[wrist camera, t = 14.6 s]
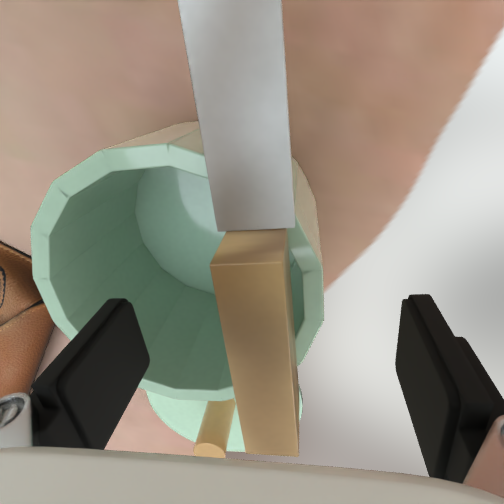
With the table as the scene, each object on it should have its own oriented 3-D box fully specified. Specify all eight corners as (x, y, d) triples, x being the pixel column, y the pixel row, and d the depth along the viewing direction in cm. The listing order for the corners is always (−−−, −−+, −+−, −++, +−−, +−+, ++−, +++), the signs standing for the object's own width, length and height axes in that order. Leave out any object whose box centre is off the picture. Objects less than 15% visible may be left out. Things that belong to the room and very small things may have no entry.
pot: (312, 107, 18) (320, 127, 10) (317, 298, 24) (325, 406, 16) (104, 130, 20) (-22, 161, 12) (153, 300, 26) (87, 396, 18)
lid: (298, 330, 25) (297, 391, 20) (305, 443, 31) (306, 513, 26) (133, 329, 28) (96, 384, 23) (169, 435, 34) (145, 497, 29)
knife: (270, -188, 8) (255, -320, 5) (305, 399, 16) (306, 458, 13) (154, -157, 8) (88, -263, 6) (248, 397, 16) (238, 453, 14)
